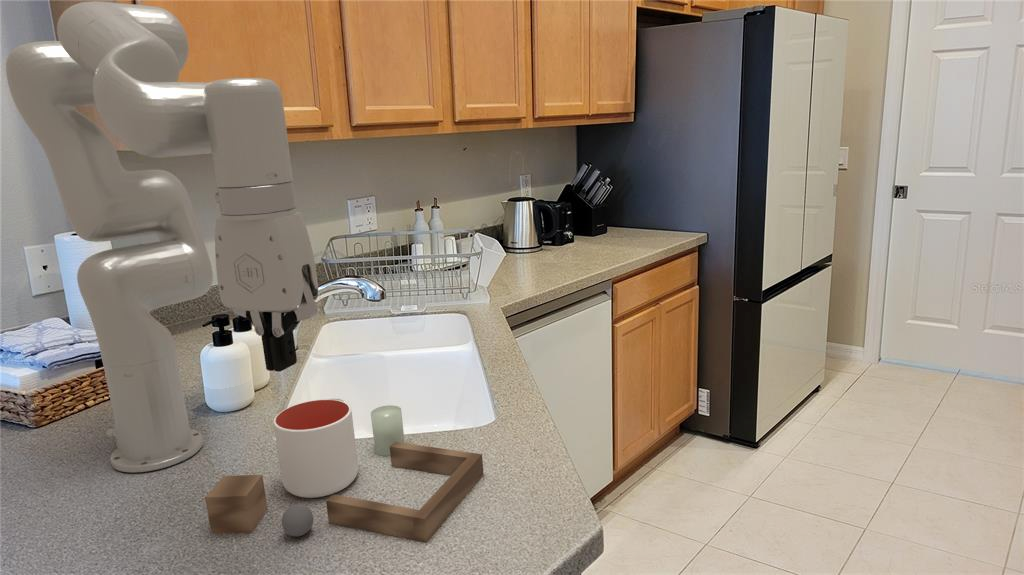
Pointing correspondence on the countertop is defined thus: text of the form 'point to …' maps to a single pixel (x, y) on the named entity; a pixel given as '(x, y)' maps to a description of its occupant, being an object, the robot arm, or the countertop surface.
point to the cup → (316, 447)
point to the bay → (408, 520)
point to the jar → (386, 428)
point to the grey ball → (297, 520)
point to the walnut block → (236, 504)
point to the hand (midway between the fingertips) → (282, 366)
